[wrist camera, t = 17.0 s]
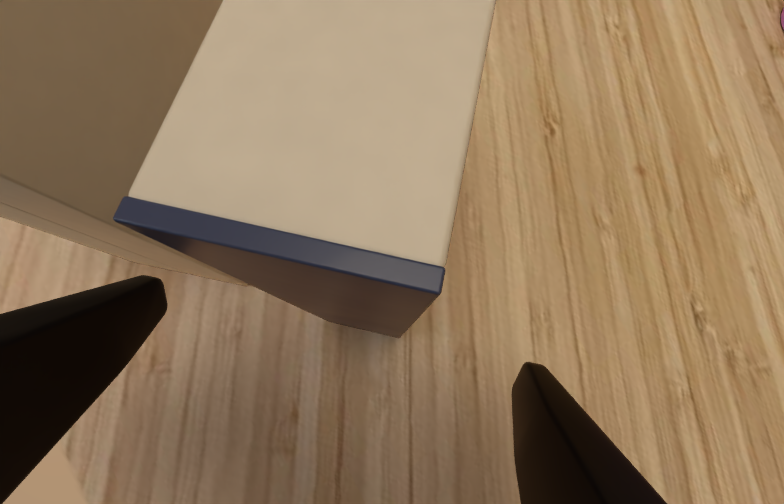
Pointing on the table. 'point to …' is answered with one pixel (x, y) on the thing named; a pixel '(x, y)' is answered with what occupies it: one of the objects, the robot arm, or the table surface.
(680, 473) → the table surface
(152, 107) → the tan rectangular block
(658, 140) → the table surface
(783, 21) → the bracket
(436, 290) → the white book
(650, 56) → the table surface
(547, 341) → the table surface
